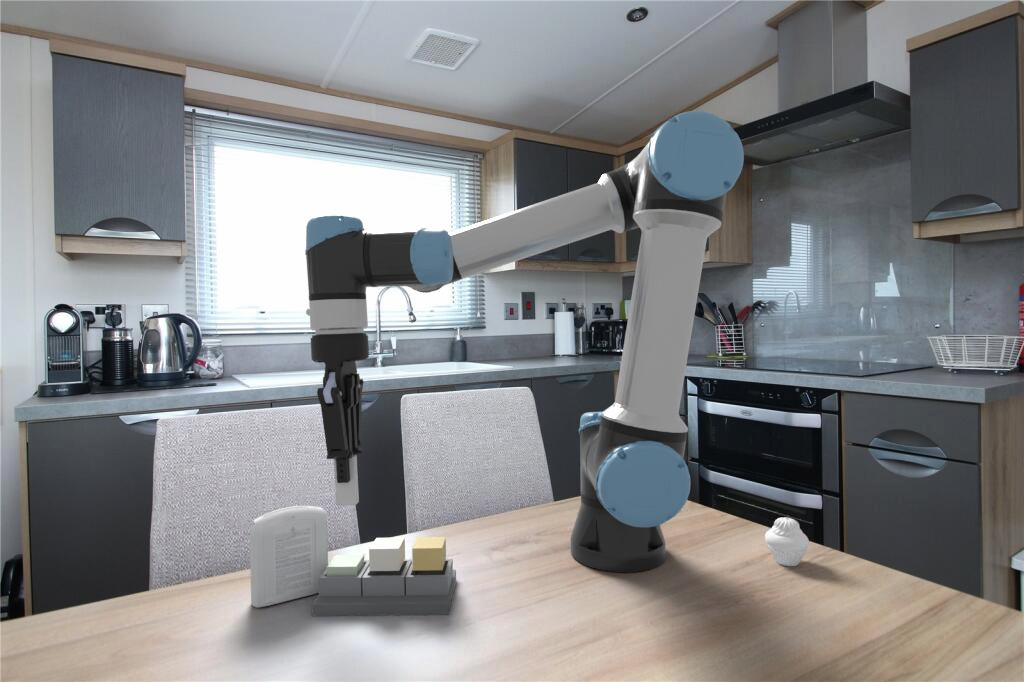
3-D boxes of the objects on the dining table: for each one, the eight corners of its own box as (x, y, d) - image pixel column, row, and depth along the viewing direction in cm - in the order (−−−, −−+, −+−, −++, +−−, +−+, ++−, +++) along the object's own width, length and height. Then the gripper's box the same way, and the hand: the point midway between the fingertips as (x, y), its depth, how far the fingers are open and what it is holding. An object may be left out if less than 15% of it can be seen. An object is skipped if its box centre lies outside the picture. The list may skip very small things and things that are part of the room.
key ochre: (446, 557, 81) (445, 536, 81) (442, 570, 77) (442, 548, 77) (417, 558, 81) (417, 537, 81) (412, 570, 77) (412, 548, 77)
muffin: (795, 553, 91) (795, 510, 91) (817, 570, 85) (817, 523, 85) (757, 554, 91) (757, 511, 91) (776, 571, 85) (776, 524, 85)
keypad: (456, 579, 84) (455, 552, 84) (447, 614, 74) (447, 584, 74) (336, 581, 84) (335, 554, 84) (312, 616, 74) (311, 585, 74)
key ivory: (405, 558, 81) (404, 537, 81) (399, 570, 77) (398, 548, 77) (376, 558, 81) (376, 537, 81) (369, 571, 77) (369, 549, 77)
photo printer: (324, 580, 85) (322, 497, 84) (332, 591, 81) (330, 505, 81) (248, 600, 79) (245, 511, 79) (254, 612, 75) (251, 519, 75)
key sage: (364, 575, 81) (364, 554, 81) (356, 588, 77) (356, 566, 77) (336, 575, 81) (335, 554, 81) (327, 588, 77) (326, 566, 77)
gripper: (327, 332, 84) (335, 490, 85) (293, 334, 71) (302, 521, 72) (378, 330, 84) (385, 488, 85) (353, 331, 71) (361, 519, 72)
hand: (347, 503), depth 79 cm, fingers closed
